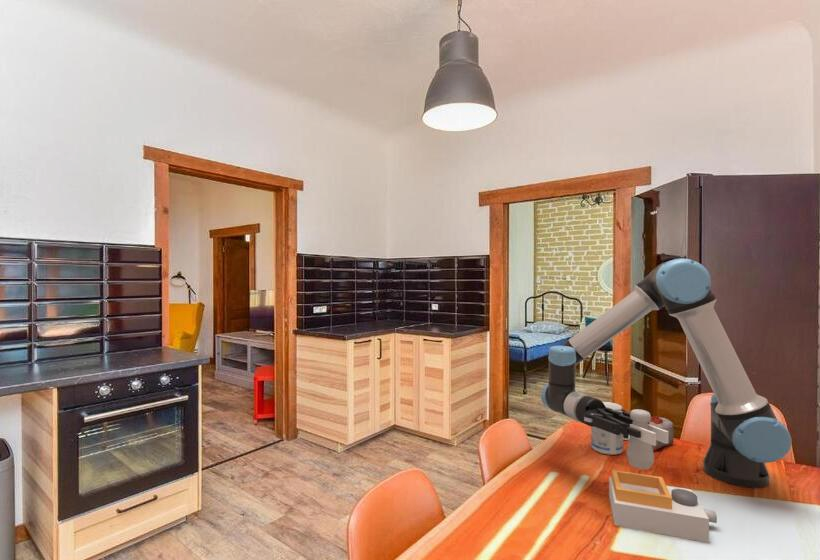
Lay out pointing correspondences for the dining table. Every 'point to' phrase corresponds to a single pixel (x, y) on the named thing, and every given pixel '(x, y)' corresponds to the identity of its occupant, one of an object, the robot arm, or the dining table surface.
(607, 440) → the supplement tub
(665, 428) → the food item
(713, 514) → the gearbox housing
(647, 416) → the salt shaker
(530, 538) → the dining table surface
